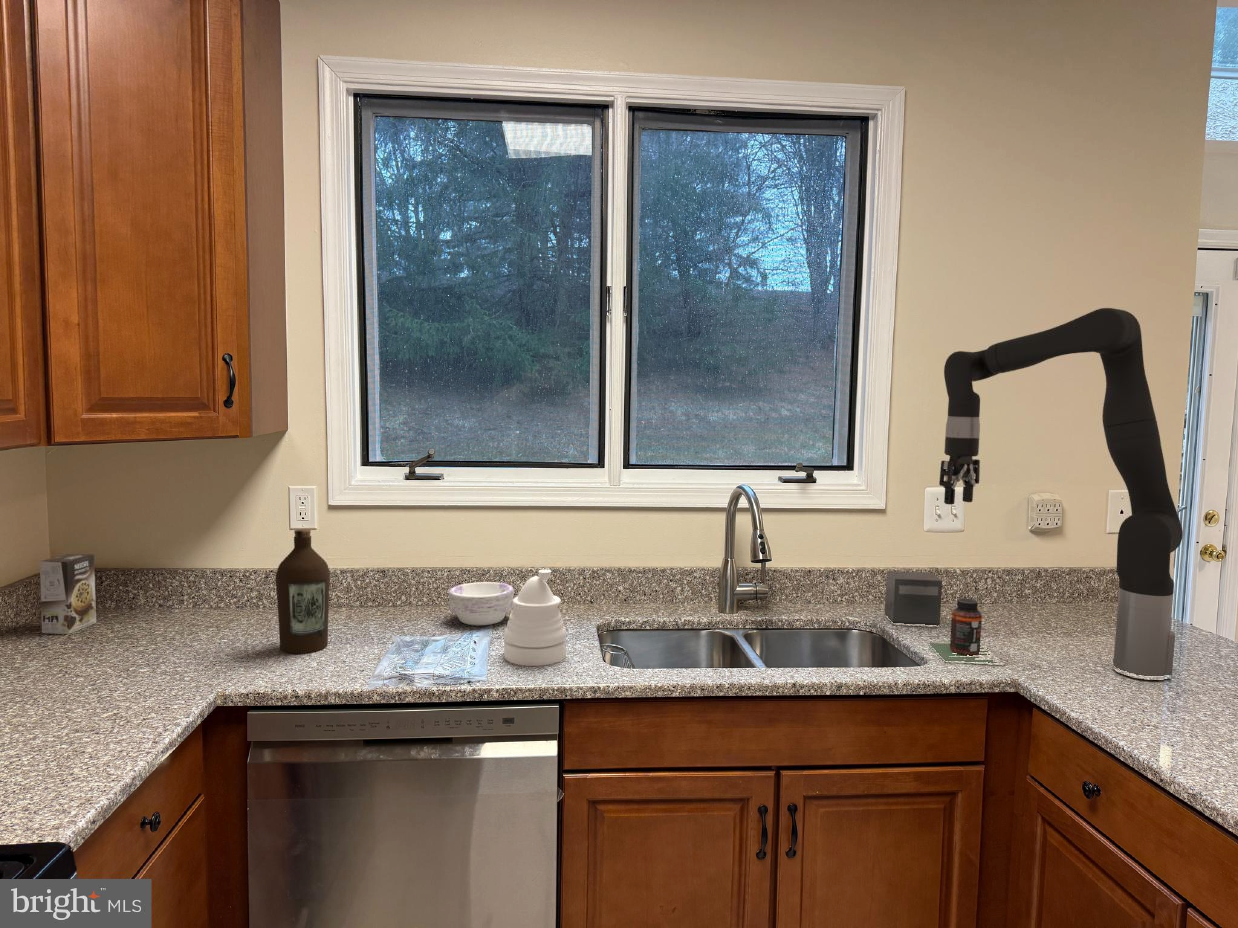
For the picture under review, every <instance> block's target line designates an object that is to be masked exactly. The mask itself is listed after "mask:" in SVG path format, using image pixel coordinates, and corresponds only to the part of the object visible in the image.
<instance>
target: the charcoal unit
mask: <svg viewBox="0 0 1238 928" xmlns="http://www.w3.org/2000/svg"><path fill="white" fill-rule="evenodd" d="M885 580H886V581H885V596H884V597H885V600H884V601H885V602H884V616H885V615H886V616H888V618H889V619H890V620H891V621H892V622H893V623H904V624H925V625H937V626H938V625H939V626H940V627H941V612H942V611H941V610H942V595H943V594H942V592H943V580H942V579H941V578H939V577H938V576H937V575H936V574H935V573H933V572H928V571H927V572H922V571H900V570H898V571H897V570H886V579H885Z"/></svg>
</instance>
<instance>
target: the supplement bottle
mask: <svg viewBox="0 0 1238 928" xmlns="http://www.w3.org/2000/svg"><path fill="white" fill-rule="evenodd" d="M956 603H957V604H956V605H957V607H956V608H954V609H952V611H951V618H950V619H951V622H950V636H949V637H950V639H949V641H950V643H949V644H950V649H951V651H953V652H955V653H957V654H961V655H970V656H973V655H977V654H979V652H980V645H981V638H982V637H981V635H982V622H983V621H982V619H983V615H982V613H981V612H980V611H979V609H978V608H979V606H978V603H979V602H978V601H977V600H976V599H975V600H974V599H969V598H958V599H957V600H956Z"/></svg>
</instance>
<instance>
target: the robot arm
mask: <svg viewBox="0 0 1238 928" xmlns="http://www.w3.org/2000/svg"><path fill="white" fill-rule="evenodd" d="M1079 353H1080V354H1081V353H1082V354H1083V353H1084V354H1085V353H1097V354H1099V356H1100V359H1101V363H1102V366H1103V371H1104V375H1105V382H1106V383H1105V394H1104V401H1103V406H1102V426H1103V427H1102V428H1103V432H1104V437H1105V441H1106V442H1105V443H1106V446H1107V450H1108V453H1109V455H1110V457H1111V460H1112V461H1113V463H1114V465H1115V467H1116V469H1117V471H1118V473H1119V475H1120V476H1121V478H1122V480H1123V482H1124V484H1125V487H1126V489H1127V493H1128V496H1129V502H1130V510H1131V511H1130V512H1131V515H1128V516H1127V517H1126V518H1125V519H1124V520H1123V521H1122V523H1121V525H1120V526H1119V529H1118V533H1117V534H1118V535H1117V543H1116V545H1117V546H1116V547H1117V548H1116V574H1117V577H1118V594H1117V595H1118V596H1117V608H1116V624H1115V636H1114V648H1113V649H1114V650H1113V658H1112V661H1113V663H1112V664H1113V665H1114V666H1115V667H1116V668H1119V669H1120V670H1123V671H1127V672H1129V673H1134V674H1136V675H1144V676H1164V675H1172V676H1173V667H1174V655H1175V645H1176V644H1175V643H1176V633H1175V632H1174V631H1172V630H1171V629H1172V617H1173V605H1174V603H1173V602H1174V592H1175V582H1174V579H1173V578H1172V577H1171V572H1170V570H1171V554H1172V553H1173V552H1175V551H1176V550H1177V549H1178V548H1179V547H1180V545H1181V544H1182V541H1183V537H1184V535H1183V533H1184V531H1183V528H1182V527H1183V526H1182V523H1181V520H1180V516H1179V514H1178V511H1177V509H1176V506H1175V503H1174V500H1173V497H1172V494H1171V491H1170V490H1171V489H1170V486H1169V482H1168V477H1167V472H1166V471H1167V469H1166V464H1165V463H1166V462H1165V458H1164V453H1163V449H1162V442H1161V437H1160V436H1161V435H1160V430H1159V426H1158V421H1157V416H1156V413H1155V410H1154V404H1153V400H1152V397H1151V391H1150V387H1149V384H1148V380H1147V377H1146V369H1145V364H1144V363H1145V361H1144V353H1143V338H1142V328H1141V325H1140V322H1139V320H1138V319H1137V317H1136V316H1135V315H1134V314H1132V313H1131V312H1129V311H1127V310H1125V309H1118V308H1113V307H1102V308H1097V309H1095V310H1092V311H1090V312H1088V313H1086V314H1082V315H1081V316H1078V317H1077V318H1074V319H1072V320H1070V321H1067V322H1065V323H1063V324H1059V325H1057V326H1054V327H1052V328H1049V329H1046V330H1042V331H1039V332H1035V333H1030V334H1028V335H1026V334H1025V335H1023V336H1018V337H1015V338H1011V339H1006V340H1004V341H1001V342H996V343H993V344H991V345H990V346H988V347H987V348H985V349H982V350H979V351H965V350H958V351H954V352H952V353H951V354H950V355H949V356H948V357H947V358H946V361H945V363H944V367H943V376H944V383H945V389H946V393H947V399H948V402H947V403H948V404H947V419H946V424H945V438H944V454H945V455H946V456H949V459H948V460H941V461H940V462H941V463H940V472H939V481H938V482H939V483H938V484H939V486H940V487H941V486H942V488H944V497H943V498H944V500H943V503H944V504H945V505H949V506H950V505H954V504H955V502H956V500H955V498H956V497H955V496H956V487H957V484H958V482H961V481H962V484H963V488H962V502H964V503H972V502H973V498H974V487H976V485H978V484H980V473H981V472H980V471H981V470H980V469H981V468H980V467H981V466H980V465H981V461H980V459H976V458H974V457H978V456H979V454H980V453H979V452H980V451H979V450H980V449H979V448H980V436H981V435H980V433H981V423H980V415H981V413H980V412H981V411H980V410H981V397H980V395H979V394H978V393H977V392H975V391H974V385H973V382H978V381H983V380H986V379H989V378H991V377H994V376H996V375H999V374H1004V373H1009V372H1014V371H1018V370H1021V369H1026V368H1029V367H1032V366H1035V365H1038V364H1040V363H1042V362H1044V361H1048V360H1050V359H1053V358H1057V357H1060V356H1065V355H1070V354H1079ZM1113 665H1112V666H1113Z"/></svg>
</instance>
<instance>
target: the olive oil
mask: <svg viewBox="0 0 1238 928" xmlns="http://www.w3.org/2000/svg"><path fill="white" fill-rule="evenodd" d="M311 531H312V530H311V529H309V528H299V529H295V530H294V532H293V533H294V537H293V545H294V546H293V549H292V550H291V551H290V552H289V554H287V556H285V558H284V559H283V560H282V561H281V562H280V564H278V566H277V570H276V573H275V587H276V588H275V589H276V590H275V591H276V600H277V601H276V602H277V615H278V632H279V634H278V636H279V649H280V651H281V652H283V653H287V654H296V655H297V654H299V655H300V654H301V655H302V654H310V653H315V652H318V651H322V650H323V649H325V648H327V646H328V643H329V641H328V640H329V635H328V634H329V611H330V610H329V608H330V587H331V585H330V583H331V573H330V572H331V571H330V569H329V564H328V563H327V562H326V560H325V559H324V558H323V557H322V556H320V554H318V553H317V552H316V551H315V550H314V548H313V547H312V535H311V533H312V532H311Z"/></svg>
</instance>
